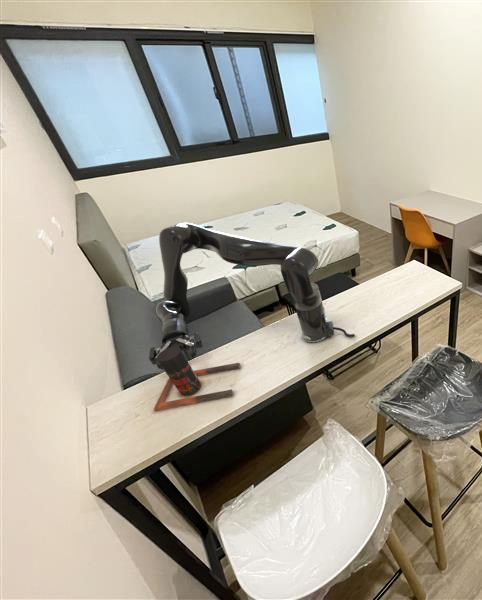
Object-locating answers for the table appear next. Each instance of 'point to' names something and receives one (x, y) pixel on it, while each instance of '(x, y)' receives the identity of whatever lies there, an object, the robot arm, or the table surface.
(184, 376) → the deodorant
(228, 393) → the brown angled rods
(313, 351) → the table surface
